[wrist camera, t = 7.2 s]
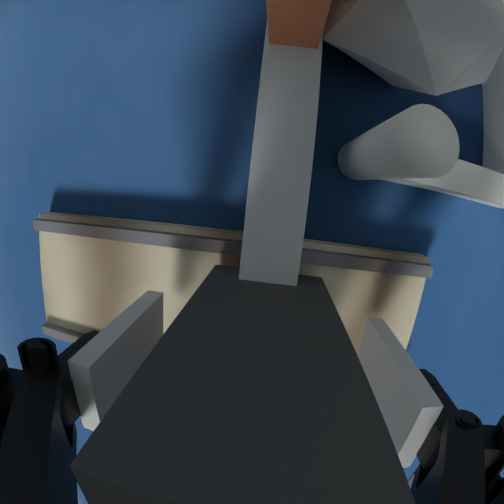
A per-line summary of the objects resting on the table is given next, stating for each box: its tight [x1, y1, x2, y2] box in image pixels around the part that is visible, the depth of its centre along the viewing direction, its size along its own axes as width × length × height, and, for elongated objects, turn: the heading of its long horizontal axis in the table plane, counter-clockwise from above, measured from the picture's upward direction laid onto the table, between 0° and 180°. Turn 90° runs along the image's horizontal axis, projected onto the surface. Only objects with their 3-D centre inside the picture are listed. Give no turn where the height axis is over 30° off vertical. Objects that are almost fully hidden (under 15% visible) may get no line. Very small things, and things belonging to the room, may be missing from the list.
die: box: [323, 0, 504, 96], centre depth 9 cm, size 8×9×10 cm
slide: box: [33, 212, 434, 354], centre depth 16 cm, size 22×8×2 cm, turn 84°
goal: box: [338, 0, 504, 208], centre depth 9 cm, size 10×18×8 cm, turn 174°
